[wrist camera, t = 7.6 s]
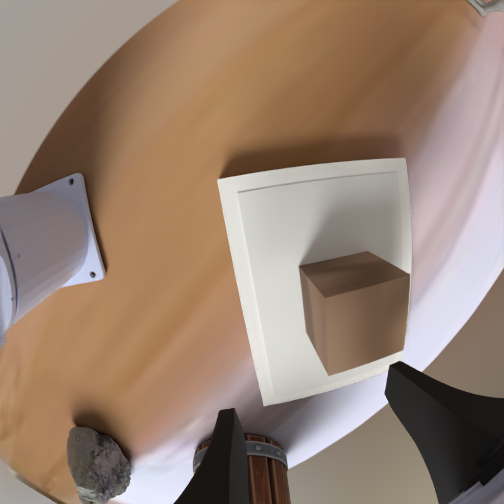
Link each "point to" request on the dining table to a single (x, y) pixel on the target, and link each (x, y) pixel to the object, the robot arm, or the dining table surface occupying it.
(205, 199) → the dining table surface
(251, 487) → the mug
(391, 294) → the walnut block
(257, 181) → the white tray
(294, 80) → the dining table surface
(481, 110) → the dining table surface
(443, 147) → the dining table surface
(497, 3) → the figurine
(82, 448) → the mineral rock
